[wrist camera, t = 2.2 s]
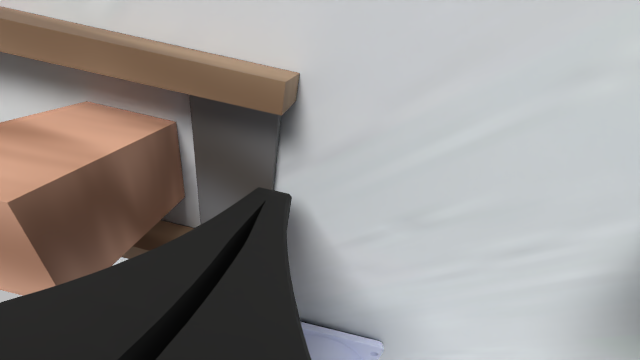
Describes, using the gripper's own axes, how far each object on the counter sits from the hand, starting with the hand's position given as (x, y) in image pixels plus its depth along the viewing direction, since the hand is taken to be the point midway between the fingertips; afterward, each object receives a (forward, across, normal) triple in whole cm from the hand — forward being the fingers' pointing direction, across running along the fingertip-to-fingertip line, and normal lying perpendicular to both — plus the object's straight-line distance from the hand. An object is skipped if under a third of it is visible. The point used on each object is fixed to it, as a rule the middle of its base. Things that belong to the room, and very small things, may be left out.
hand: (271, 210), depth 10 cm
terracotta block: (+2, +7, 0) cm, 7 cm away
